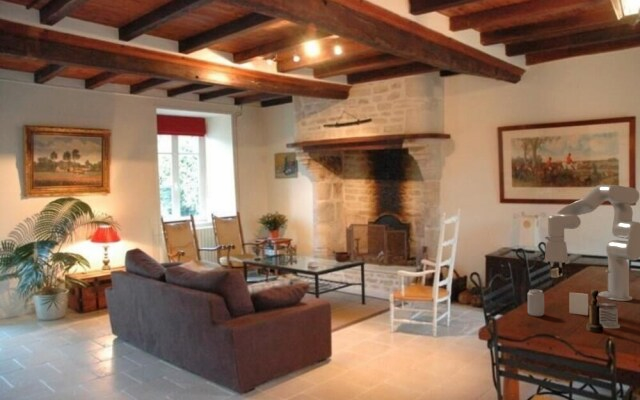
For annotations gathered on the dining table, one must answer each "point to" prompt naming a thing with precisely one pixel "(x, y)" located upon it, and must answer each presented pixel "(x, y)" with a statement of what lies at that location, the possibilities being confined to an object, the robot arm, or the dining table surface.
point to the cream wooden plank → (555, 273)
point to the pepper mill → (594, 314)
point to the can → (535, 302)
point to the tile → (578, 303)
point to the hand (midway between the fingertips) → (556, 274)
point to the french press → (608, 310)
